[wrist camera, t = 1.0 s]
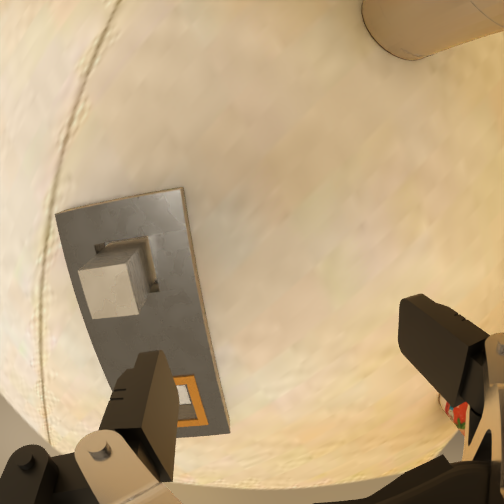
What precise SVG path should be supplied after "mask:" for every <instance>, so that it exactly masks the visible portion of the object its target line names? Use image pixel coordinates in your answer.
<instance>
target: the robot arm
mask: <svg viewBox="0 0 504 504" xmlns="http://www.w3.org/2000/svg"><path fill="white" fill-rule="evenodd" d="M362 14H363V19H364V22H365V24H366V27H367V29H368V30H369V32H370V33H371V35H372V36H373V38H374V39H375V40H376V41H377V42H378V43H379V44H380V45H381V46H382V47H383V48H384V49H385V50H387V51H389V52H390V53H392V54H393V55H395V56H398V57H400V58H403V59H407V60H418V59H422V58H424V57H428V56H431V55H433V54H435V53H438V52H440V51H443V50H446V49H449V48H452V47H454V46H457V45H460V44H463V43H466V42H469V41H472V40H475V39H478V38H481V37H485V36H488V35H491V34H494V33H498V32H501V31H504V0H364V1H363V5H362ZM398 343H399V347H400V350H401V352H402V354H403V355H404V356H405V357H406V358H407V359H408V360H409V361H410V362H411V363H412V364H413V365H414V366H415V368H416V369H417V370H418V371H419V372H420V373H421V374H422V375H423V376H424V377H425V378H426V379H427V380H428V381H429V383H430V384H431V385H432V386H433V387H434V388H435V389H436V390H437V391H438V392H439V393H440V395H441V396H442V397H443V398H444V399H445V400H446V401H447V402H448V403H449V404H450V406H451V407H452V408H455V407H457V406H459V405H461V404H462V403H464V402H467V403H468V407H467V410H466V424H465V439H464V451H463V457H462V461H460V462H455V463H449V462H448V461H447V459H446V458H445V457H444V455H441V456H439V457H437V458H435V459H433V460H431V461H429V462H427V463H425V464H422V465H420V466H418V467H416V468H414V469H412V470H409V471H407V472H405V473H404V474H403V475H401V476H400V477H398V478H397V479H395V480H394V481H393V482H391V483H390V484H388V485H387V486H385V487H384V488H382V489H381V490H379V491H377V492H376V493H374V494H373V495H371V496H369V497H367V498H363V499H358V500H348V501H339V502H327V503H314V504H504V333H496V334H493V335H491V336H490V335H489V334H487V333H486V332H484V331H483V330H482V329H480V328H479V327H477V326H476V325H474V324H473V323H472V322H470V321H469V320H466V319H465V318H464V317H463V316H461V315H458V313H457V312H455V311H454V310H453V309H451V308H450V307H447V306H444V305H441V304H438V303H435V302H434V301H432V300H431V299H430V298H428V297H427V296H425V295H424V294H417V295H414V296H410V297H407V298H404V299H402V300H401V302H400V307H399V329H398ZM113 390H114V392H112V395H111V397H110V401H109V403H108V405H107V408H106V411H105V413H104V416H103V419H102V422H101V425H100V427H99V430H98V431H95V432H92V433H90V434H88V435H86V436H85V437H83V438H82V439H81V440H80V441H79V443H78V444H77V446H76V448H75V452H74V453H69V454H65V455H60V456H55V457H50V456H49V454H48V453H47V452H46V451H45V449H44V448H43V447H41V446H39V445H27V446H23V447H21V448H19V449H18V450H16V451H15V452H14V453H13V454H12V455H11V457H10V458H9V460H8V462H7V465H6V467H5V469H4V471H3V474H2V476H1V478H0V504H182V502H181V501H179V499H178V498H177V497H175V496H174V494H173V493H172V492H171V491H170V490H169V489H168V488H167V487H166V486H165V485H164V484H163V483H162V482H173V470H174V457H175V445H176V434H177V423H178V413H179V395H178V391H177V387H176V384H175V382H174V379H173V376H172V373H171V370H170V368H169V365H168V362H167V359H166V356H165V354H164V352H163V351H162V350H155V351H148V352H140V353H139V354H138V357H137V360H136V362H135V365H134V368H132V369H126V371H125V372H124V373H123V374H122V375H121V376H120V377H119V378H118V379H117V382H116V384H115V387H114V389H113Z"/></svg>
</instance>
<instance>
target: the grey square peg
mask: <svg viewBox="0 0 504 504" xmlns="http://www.w3.org/2000/svg"><path fill="white" fill-rule="evenodd" d="M78 274H79V277H80V281H81V284H82V288H83V291H84V294H85V298H86V301H87V304H88V307H89V310H90V313H91V316H92V319H100V318H110V317H120V316H129V315H139V313H140V311H141V309H142V307H143V305H144V303H145V300H146V298H147V296H148V294H149V292H150V290H151V288H152V286H153V284H154V282H155V279H156V272H155V268H154V263H153V259H152V254H151V249H150V244H149V239H148V237H141V238H135V239H129V240H123V241H117V242H111V243H109V244H108V245H107V246H105V247H104V248H103V249H102V250H101V251H100V252H98V253H97V254H96V255H95V256H94V257H93V258H92V259H90V260H89V261H88V262H87V263H86V264H85V265H84V266H83V267H81V268H80V269H79V270H78Z"/></svg>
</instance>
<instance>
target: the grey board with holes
mask: <svg viewBox="0 0 504 504" xmlns="http://www.w3.org/2000/svg"><path fill="white" fill-rule="evenodd" d="M55 217H56V222H57V226H58V231H59V235H60V240H61V244H62V248H63V252H64V256H65V260H66V264H67V267H68V271H69V274H70V278H71V281H72V285H73V288H74V291H75V295H76V298H77V301H78V304H79V307H80V310H81V313H82V316H83V319H84V322H85V325H86V328H87V330H88V333H89V336H90V339H91V341H92V344H93V347H94V349H95V352H96V354H97V357H98V359H99V362H100V364H101V367H102V369H103V371H104V374H105V376H106V378H107V381H108V383H109V385H110V387H111V390H112V392H114V390H113V389H114V387H115V384H116V382H117V379H118V378H119V377H120V376H121V375H122V374H123V373H124V372H125V371H126V369H132V368H134V365H135V362H136V360H137V357H138V354H139V353H140V352H148V351H155V350H162V351H163V352H164V354H165V356H166V359H167V362H168V365H169V368H170V370H171V373H172V376H173V379H174V382H175V384H176V385H186V388H187V392H188V395H189V398H190V401H191V404H186V405H179V413H178V423H177V434H176V438H182V437H197V436H209V435H219V434H228V433H230V420H229V415H228V411H227V407H226V403H225V399H224V395H223V391H222V387H221V382H220V378H219V374H218V369H217V365H216V360H215V356H214V351H213V347H212V342H211V337H210V333H209V328H208V323H207V318H206V313H205V308H204V303H203V298H202V293H201V288H200V283H199V277H198V272H197V267H196V261H195V255H194V250H193V244H192V238H191V232H190V226H189V220H188V214H187V208H186V201H185V195H184V188H183V187H179V188H173V189H167V190H161V191H155V192H150V193H144V194H139V195H134V196H128V197H123V198H118V199H113V200H108V201H103V202H99V203H94V204H89V205H85V206H80V207H76V208H71V209H67V210H64V211H62V212H59V213H57V214H55ZM142 236H148V239H149V244H150V249H151V254H152V259H153V263H154V268H155V272H156V277H157V281H158V282H157V283H154V284H153V286H152V288H151V290H150V292H149V294H148V296H147V298H146V300H145V303H144V305H143V307H142V309H141V311H140V313H139V315H129V316H120V317H110V318H100V319H92V316H91V313H90V310H89V307H88V304H87V301H86V298H85V294H84V291H83V288H82V284H81V281H80V277H79V274H78V270H79V269H80V268H81V267H83V266H84V265H85V264H86V263H87V262H88V261H89V260H90V259H92V258H93V257H94V256H95V255H96V254H97V253H98V252H100V251H101V250H102V249H103V248H104V247H105V245H104V243H106V242H112V241H118V240H124V239H130V238H136V237H142Z"/></svg>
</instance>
